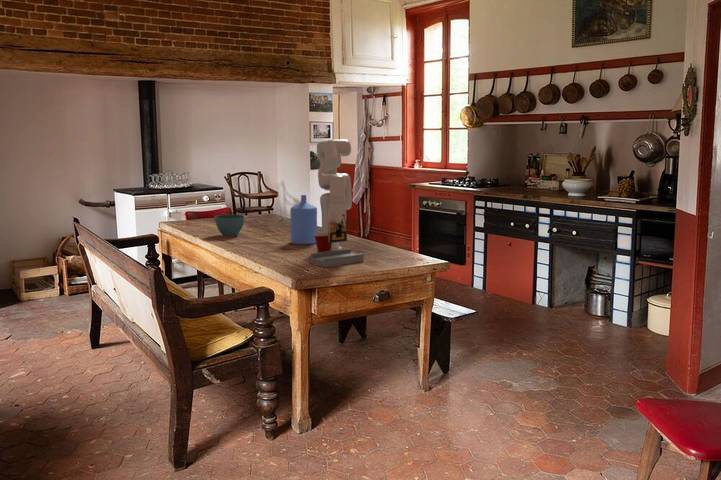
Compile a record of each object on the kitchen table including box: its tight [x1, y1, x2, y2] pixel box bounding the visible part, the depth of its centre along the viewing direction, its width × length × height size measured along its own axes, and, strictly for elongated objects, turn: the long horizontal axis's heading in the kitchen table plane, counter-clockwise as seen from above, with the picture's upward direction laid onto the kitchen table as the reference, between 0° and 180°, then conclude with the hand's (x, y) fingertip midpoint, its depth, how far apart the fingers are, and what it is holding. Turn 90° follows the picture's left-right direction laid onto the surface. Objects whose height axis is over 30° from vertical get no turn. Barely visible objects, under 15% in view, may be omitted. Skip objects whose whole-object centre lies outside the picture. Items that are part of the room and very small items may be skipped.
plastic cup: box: [314, 232, 332, 253], centre depth 348 cm, size 11×11×12 cm
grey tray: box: [310, 247, 365, 268], centre depth 331 cm, size 12×24×5 cm, turn 128°
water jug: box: [290, 194, 318, 245], centre depth 386 cm, size 16×16×28 cm
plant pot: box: [214, 214, 245, 238], centre depth 411 cm, size 18×18×12 cm
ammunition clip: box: [328, 219, 348, 243], centre depth 328 cm, size 11×2×12 cm, turn 128°
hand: (337, 236), depth 329 cm, fingers closed on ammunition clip, 2 cm apart
